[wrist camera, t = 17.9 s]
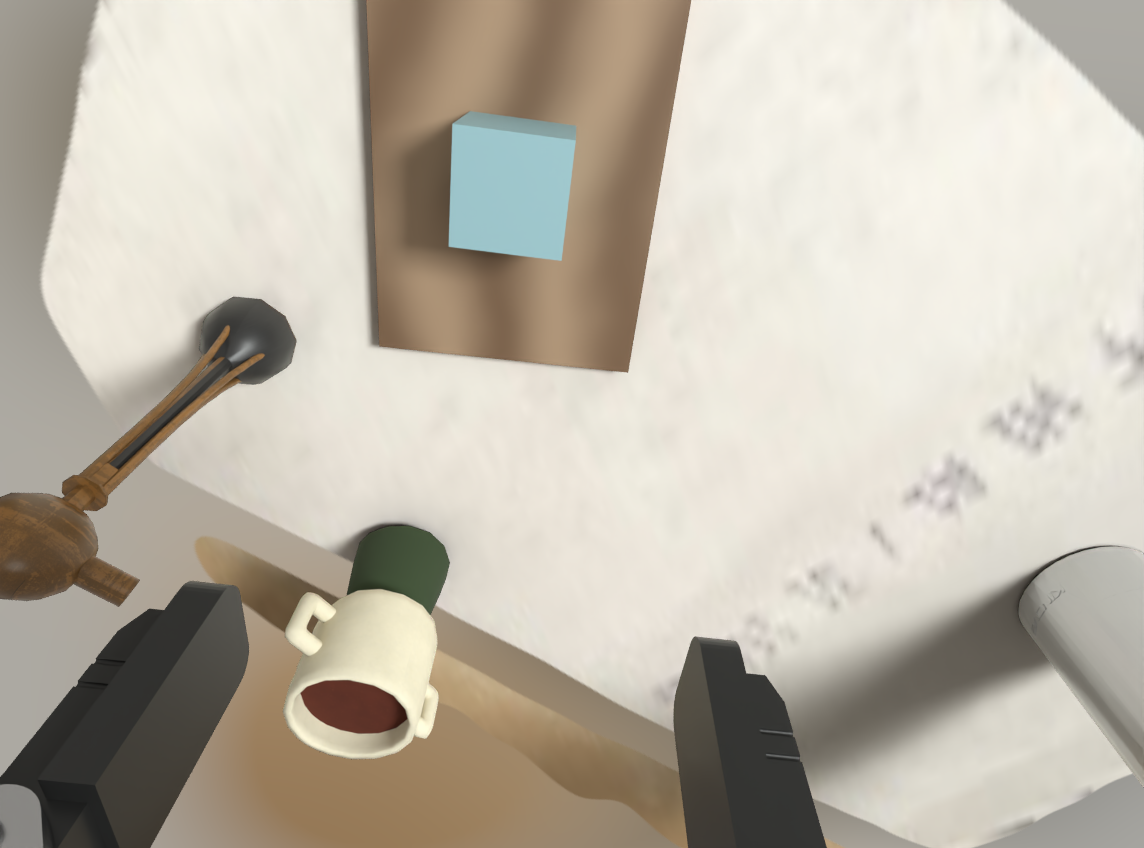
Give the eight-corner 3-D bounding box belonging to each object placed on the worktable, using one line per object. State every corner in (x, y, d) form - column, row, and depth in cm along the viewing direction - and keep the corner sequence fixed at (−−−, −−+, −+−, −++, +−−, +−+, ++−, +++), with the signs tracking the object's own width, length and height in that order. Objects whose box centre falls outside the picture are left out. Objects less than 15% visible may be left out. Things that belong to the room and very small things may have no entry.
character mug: (311, 527, 45) (222, 690, 34) (387, 476, 43) (319, 632, 32) (421, 620, 50) (375, 793, 38) (495, 578, 47) (469, 748, 36)
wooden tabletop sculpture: (327, 345, 38) (120, 601, 21) (287, 399, 40) (66, 674, 23) (233, 279, 37) (-79, 501, 19) (195, 338, 38) (-121, 590, 21)
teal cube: (576, 125, 32) (575, 140, 27) (563, 231, 34) (561, 261, 30) (469, 111, 31) (452, 123, 27) (465, 219, 34) (448, 246, 29)
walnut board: (697, -55, 29) (701, -58, 28) (626, 365, 39) (628, 372, 38) (368, -100, 28) (362, -104, 27) (383, 339, 38) (379, 346, 37)
